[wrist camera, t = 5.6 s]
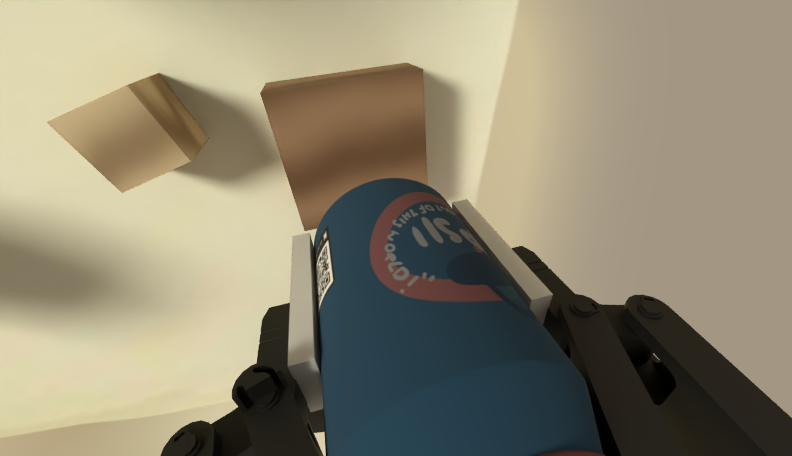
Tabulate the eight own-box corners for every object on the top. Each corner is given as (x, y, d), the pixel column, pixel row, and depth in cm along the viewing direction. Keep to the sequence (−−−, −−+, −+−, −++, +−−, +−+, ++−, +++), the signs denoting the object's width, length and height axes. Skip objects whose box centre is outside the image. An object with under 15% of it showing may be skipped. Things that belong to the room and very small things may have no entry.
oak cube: (93, 102, 22) (46, 122, 18) (159, 72, 22) (126, 85, 18) (151, 164, 25) (122, 192, 21) (209, 138, 25) (190, 161, 21)
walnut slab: (266, 83, 23) (260, 93, 20) (407, 62, 25) (422, 69, 22) (304, 208, 30) (304, 230, 27) (415, 185, 31) (428, 204, 28)
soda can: (467, 186, 16) (713, 439, 6) (414, 286, 19) (528, 557, 10) (335, 147, 13) (424, 485, 4) (298, 270, 16) (294, 631, 7)
